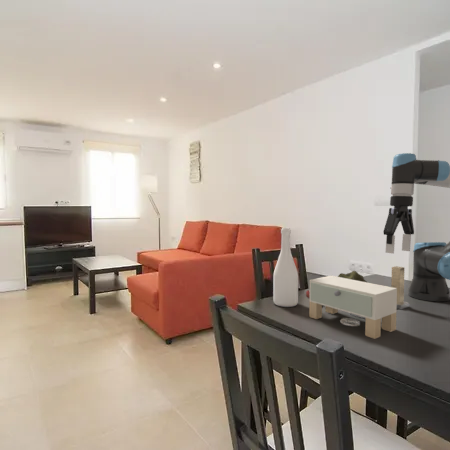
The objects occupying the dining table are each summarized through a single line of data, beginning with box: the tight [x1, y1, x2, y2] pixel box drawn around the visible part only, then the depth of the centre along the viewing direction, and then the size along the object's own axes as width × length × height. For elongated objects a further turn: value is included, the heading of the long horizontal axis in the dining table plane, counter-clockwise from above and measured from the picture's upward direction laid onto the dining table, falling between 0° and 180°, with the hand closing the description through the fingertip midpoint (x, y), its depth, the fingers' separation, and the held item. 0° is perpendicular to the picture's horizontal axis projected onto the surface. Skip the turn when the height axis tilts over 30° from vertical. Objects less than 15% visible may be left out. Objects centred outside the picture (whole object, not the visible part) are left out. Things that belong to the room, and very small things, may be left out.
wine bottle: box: [272, 227, 299, 308], centre depth 130 cm, size 10×10×30 cm
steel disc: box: [340, 317, 361, 327], centre depth 109 cm, size 6×6×1 cm
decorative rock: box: [337, 270, 367, 282], centre depth 145 cm, size 15×16×10 cm
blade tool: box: [349, 265, 410, 320], centre depth 121 cm, size 26×10×15 cm, turn 126°
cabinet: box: [308, 275, 398, 340], centre depth 109 cm, size 14×24×13 cm, turn 36°
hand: (398, 251), depth 126 cm, fingers open, 13 cm apart
